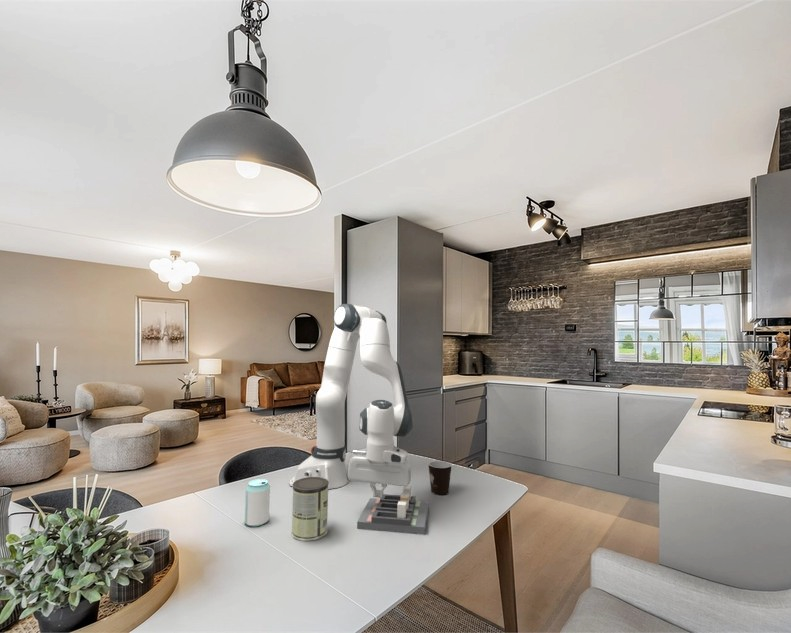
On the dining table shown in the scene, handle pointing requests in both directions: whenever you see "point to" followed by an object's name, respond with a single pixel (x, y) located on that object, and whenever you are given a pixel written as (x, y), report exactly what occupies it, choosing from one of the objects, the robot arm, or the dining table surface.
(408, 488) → the block
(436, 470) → the coffee mug
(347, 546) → the dining table surface
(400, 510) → the breaker near
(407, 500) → the block
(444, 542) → the dining table surface
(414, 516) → the panel
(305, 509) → the coffee can
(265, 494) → the can
